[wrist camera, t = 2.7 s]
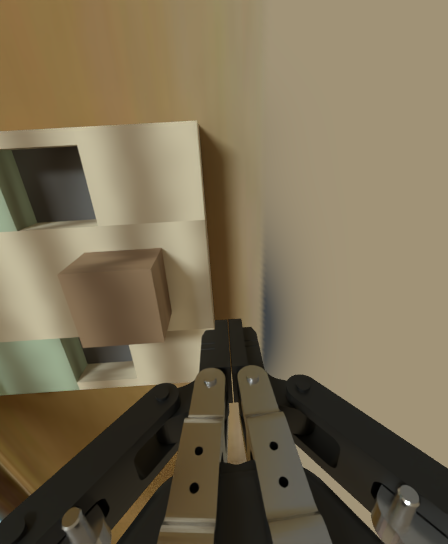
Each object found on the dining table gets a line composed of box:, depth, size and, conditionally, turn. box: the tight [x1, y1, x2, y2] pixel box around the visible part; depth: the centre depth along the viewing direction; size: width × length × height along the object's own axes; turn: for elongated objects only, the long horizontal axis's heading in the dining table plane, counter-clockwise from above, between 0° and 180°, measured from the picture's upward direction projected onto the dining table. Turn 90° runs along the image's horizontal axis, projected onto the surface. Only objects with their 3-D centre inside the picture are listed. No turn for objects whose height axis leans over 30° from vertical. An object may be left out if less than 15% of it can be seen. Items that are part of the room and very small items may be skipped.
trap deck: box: [0, 121, 215, 395], centre depth 22 cm, size 24×23×4 cm
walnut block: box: [57, 248, 172, 348], centre depth 20 cm, size 6×6×4 cm
